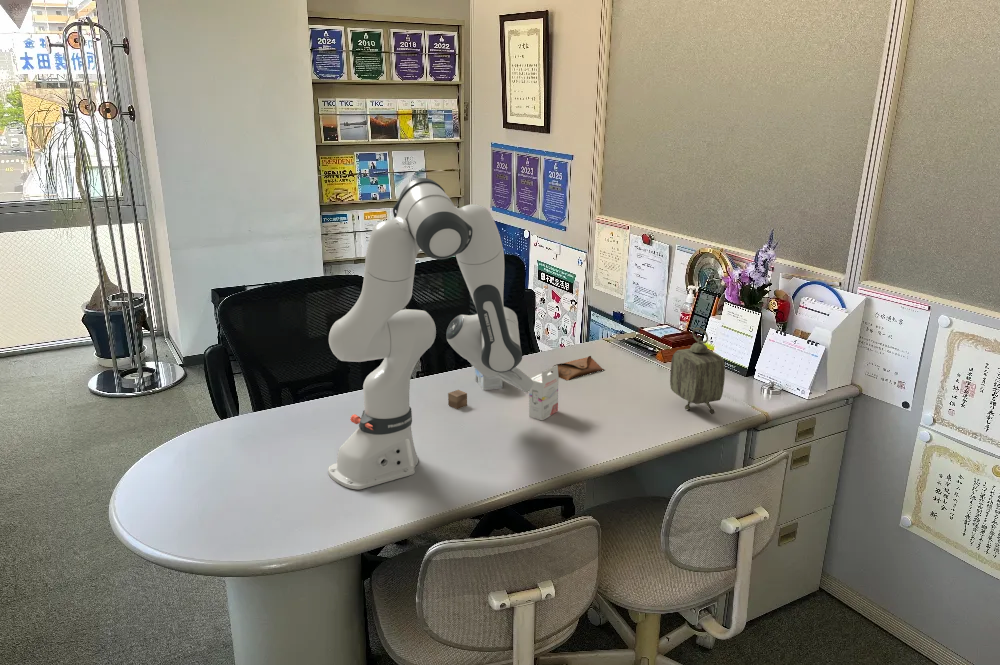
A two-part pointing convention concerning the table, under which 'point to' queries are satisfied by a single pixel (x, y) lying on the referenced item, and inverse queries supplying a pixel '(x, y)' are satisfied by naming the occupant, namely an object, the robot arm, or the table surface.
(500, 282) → the robot arm
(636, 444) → the table surface
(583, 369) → the sunglasses case
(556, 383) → the ink cartridge box
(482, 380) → the light bulb box
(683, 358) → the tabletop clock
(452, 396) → the walnut block
